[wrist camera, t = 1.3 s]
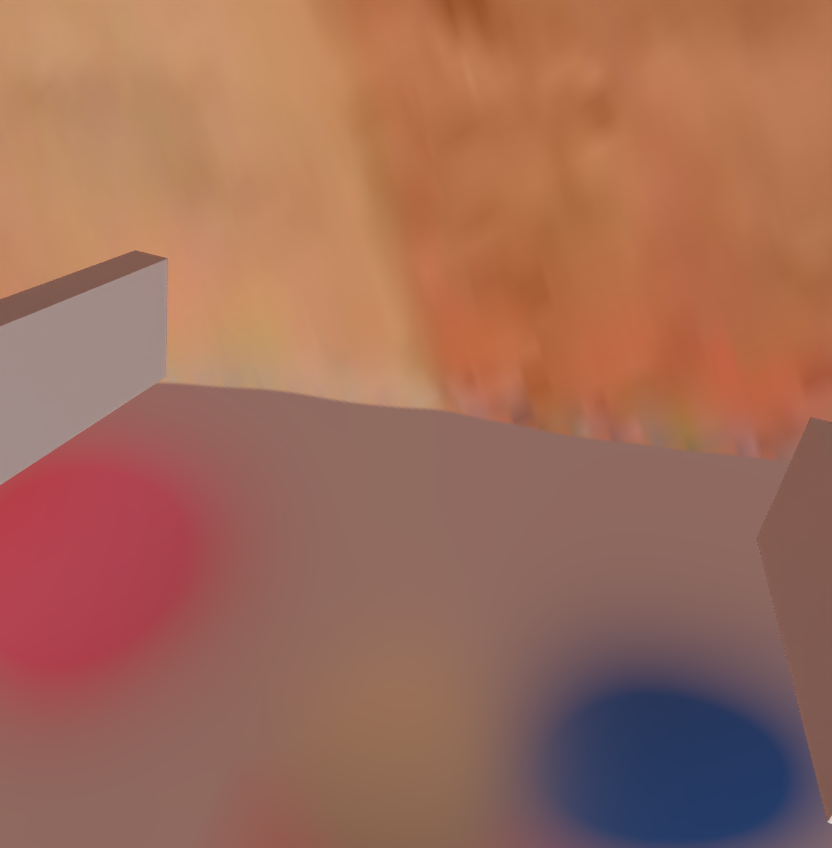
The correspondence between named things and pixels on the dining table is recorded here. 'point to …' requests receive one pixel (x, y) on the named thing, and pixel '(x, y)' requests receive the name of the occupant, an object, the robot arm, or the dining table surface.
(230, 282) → the dining table surface
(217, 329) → the dining table surface
